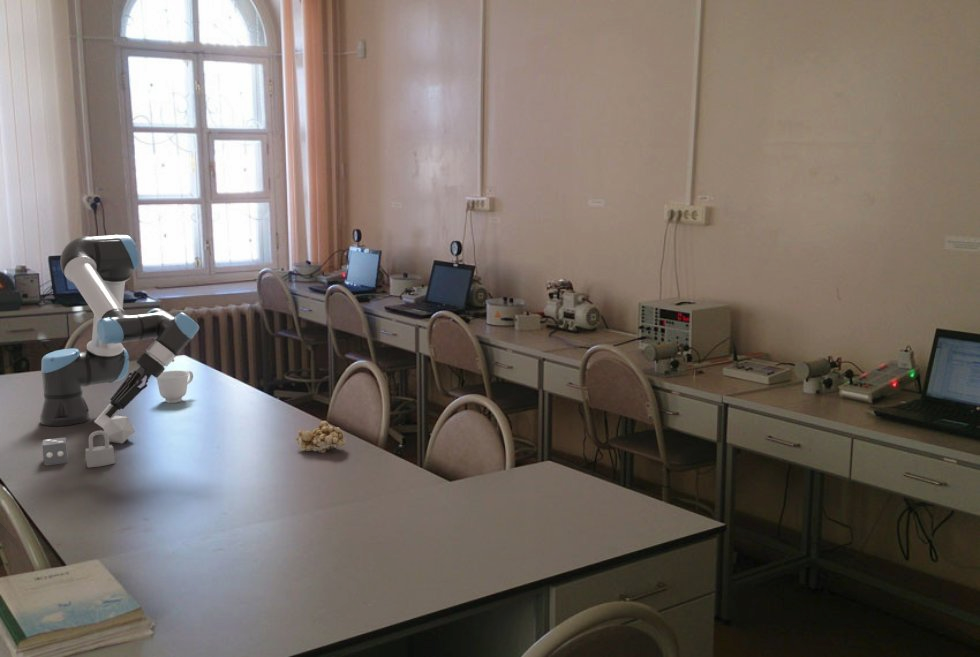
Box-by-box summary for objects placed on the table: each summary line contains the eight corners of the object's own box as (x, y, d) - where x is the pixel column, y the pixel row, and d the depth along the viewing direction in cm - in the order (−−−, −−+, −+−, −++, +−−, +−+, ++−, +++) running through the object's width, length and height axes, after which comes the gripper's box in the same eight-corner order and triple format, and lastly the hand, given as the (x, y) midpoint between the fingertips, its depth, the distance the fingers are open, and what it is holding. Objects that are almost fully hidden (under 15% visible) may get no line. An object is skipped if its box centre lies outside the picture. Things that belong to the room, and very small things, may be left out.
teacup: (204, 398, 334) (203, 371, 332) (171, 406, 322) (169, 379, 320) (182, 393, 341) (181, 367, 339) (149, 402, 328) (147, 375, 326)
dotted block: (44, 459, 263) (42, 439, 262) (67, 457, 266) (65, 436, 265) (44, 466, 258) (42, 445, 257) (67, 463, 260) (65, 442, 259)
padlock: (112, 460, 262) (110, 427, 261) (115, 464, 259) (112, 430, 257) (86, 464, 259) (83, 430, 257) (88, 468, 255) (85, 434, 254)
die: (141, 441, 283) (134, 413, 286) (128, 435, 275) (121, 406, 278) (116, 451, 282) (109, 423, 286) (102, 445, 274) (95, 416, 278)
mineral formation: (329, 440, 281) (358, 447, 271) (293, 456, 272) (322, 464, 262) (323, 416, 280) (353, 422, 269) (287, 431, 271) (316, 438, 260)
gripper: (171, 371, 260) (114, 437, 253) (159, 363, 270) (104, 427, 264) (151, 355, 256) (92, 422, 250) (139, 348, 267) (83, 412, 260)
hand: (98, 424), depth 257 cm, fingers closed
